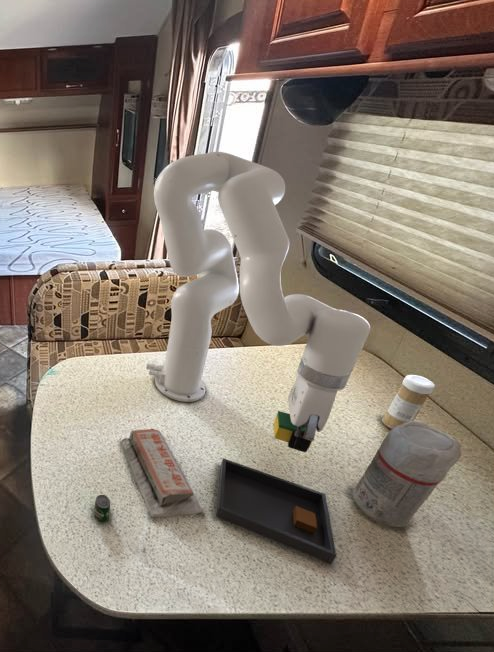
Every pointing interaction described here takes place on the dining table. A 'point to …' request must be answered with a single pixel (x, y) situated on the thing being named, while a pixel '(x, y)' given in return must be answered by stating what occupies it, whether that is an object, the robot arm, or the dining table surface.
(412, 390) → the sprinkles bottle
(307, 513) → the brown square tile
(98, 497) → the beer can
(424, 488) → the grey plastic tub
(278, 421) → the sponge
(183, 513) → the packaged product
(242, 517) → the pan
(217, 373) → the dining table surface
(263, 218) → the robot arm
